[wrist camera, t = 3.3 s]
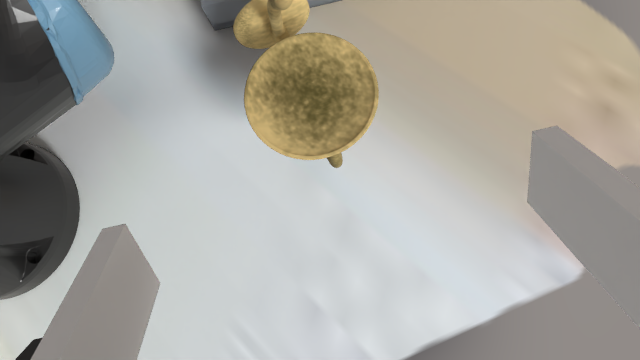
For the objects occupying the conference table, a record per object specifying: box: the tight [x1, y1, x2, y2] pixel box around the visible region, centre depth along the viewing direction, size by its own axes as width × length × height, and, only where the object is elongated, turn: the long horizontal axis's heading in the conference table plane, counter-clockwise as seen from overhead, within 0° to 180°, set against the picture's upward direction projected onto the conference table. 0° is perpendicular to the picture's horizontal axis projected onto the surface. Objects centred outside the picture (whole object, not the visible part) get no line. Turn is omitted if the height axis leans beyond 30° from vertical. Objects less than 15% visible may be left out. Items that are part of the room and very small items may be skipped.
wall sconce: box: [233, 0, 378, 168], centre depth 28 cm, size 14×10×25 cm
